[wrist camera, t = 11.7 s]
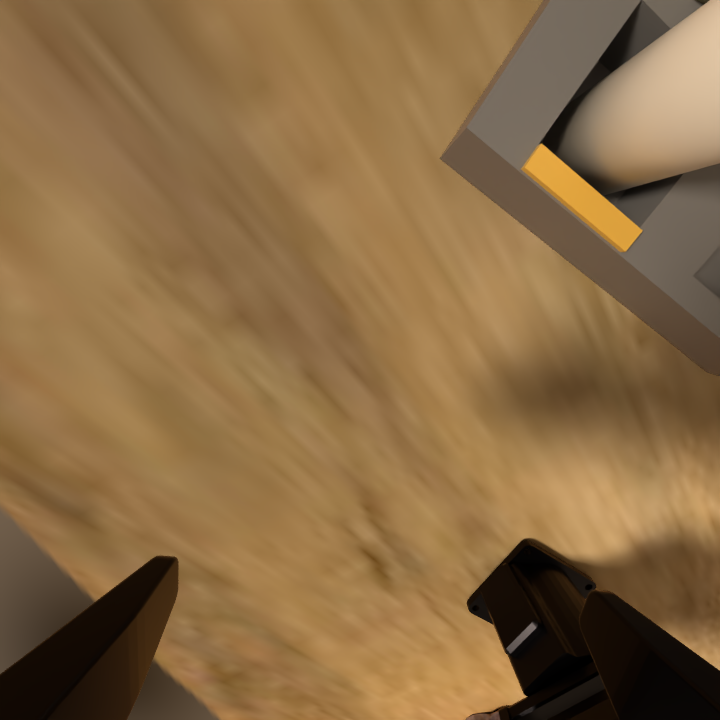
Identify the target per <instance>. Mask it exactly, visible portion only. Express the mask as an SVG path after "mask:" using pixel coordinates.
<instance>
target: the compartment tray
mask: <svg viewBox="0 0 720 720" xmlns="http://www.w3.org/2000/svg"><path fill="white" fill-rule="evenodd" d="M701 6H703V4H702V3H701V2H700V1H697V0H544V1H543V2H542V4H541V5H540V7H539V8H538V10H537V11H536V13H535V15H534V16H533V18H532V19H531V21H530V22H529V24H528V25H527V27H526V28H525V30H524V31H523V33H522V34H521V36H520V37H519V39H518V40H517V42H516V43H515V45H514V46H513V48H512V50H511V51H510V53H509V54H508V56H507V57H506V59H505V60H504V62H503V63H502V65H501V66H500V68H499V69H498V71H497V72H496V74H495V75H494V77H493V78H492V80H491V82H490V83H489V85H488V86H487V88H486V89H485V91H484V92H483V94H482V95H481V97H480V98H479V100H478V101H477V103H476V104H475V106H474V107H473V109H472V110H471V112H470V113H469V115H468V117H467V118H466V120H465V121H464V123H463V124H462V126H461V127H460V129H459V130H458V132H457V133H456V135H455V136H454V138H453V139H452V141H451V142H450V144H449V145H448V147H447V149H446V150H445V152H444V153H443V155H442V156H441V158H440V159H441V160H442V161H443V162H445V163H446V164H447V165H448V166H450V167H451V168H452V169H453V170H455V171H456V172H457V173H458V174H460V175H461V176H462V177H463V178H465V179H466V180H467V181H468V182H470V183H471V184H472V185H473V186H475V187H476V188H477V189H479V190H480V191H481V192H482V193H484V194H485V195H486V196H487V197H489V198H490V199H491V200H492V201H494V202H495V203H496V204H497V205H499V206H500V207H501V208H502V209H504V210H505V211H506V212H507V213H509V214H510V215H511V216H512V217H514V218H515V219H516V220H517V221H519V222H520V223H521V224H522V225H524V226H525V227H526V228H527V229H529V230H530V231H531V232H532V233H534V234H535V235H536V236H537V237H539V238H540V239H541V240H542V241H544V242H545V243H546V244H547V245H549V246H550V247H551V248H552V249H554V250H555V251H556V252H557V253H559V254H560V255H561V256H562V257H564V258H565V259H566V260H567V261H569V262H570V263H571V264H572V265H574V266H575V267H576V268H577V269H579V270H580V271H581V272H582V273H584V274H585V275H586V276H587V277H589V278H590V279H591V280H592V281H594V282H595V283H596V284H597V285H599V286H600V287H601V288H602V289H604V290H605V291H606V292H607V293H609V294H610V295H611V296H612V297H614V298H615V299H616V300H617V301H619V302H620V303H621V304H622V305H624V306H625V307H626V308H627V309H629V310H630V311H631V312H632V313H634V314H635V315H636V316H637V317H639V318H640V319H641V320H642V321H644V322H645V323H646V324H647V325H649V326H650V327H651V328H652V329H654V330H655V331H656V332H657V333H659V334H660V335H661V336H663V337H664V338H665V339H666V340H668V341H669V342H670V343H671V344H673V345H674V346H675V347H676V348H678V349H679V350H680V351H681V352H683V353H684V354H685V355H686V356H688V357H689V358H690V359H691V360H693V361H694V362H695V363H696V364H698V365H699V366H700V367H701V368H703V369H704V370H705V371H706V372H708V373H712V374H715V375H718V376H720V163H719V164H715V165H712V166H708V167H704V168H701V169H697V170H694V171H690V172H686V173H683V174H679V175H676V176H672V177H668V178H665V179H661V180H657V181H654V182H650V183H647V184H643V185H639V186H636V187H632V188H629V189H625V190H621V191H618V192H614V193H611V194H607V195H603V196H602V195H601V194H600V193H599V192H597V191H596V190H595V189H594V188H593V187H592V186H591V185H589V184H588V183H587V182H586V181H585V180H584V179H582V178H581V177H580V176H579V175H578V174H577V173H575V172H574V171H573V170H572V169H571V168H570V167H569V166H567V165H566V164H565V163H564V162H563V161H562V160H560V159H559V158H558V157H557V156H556V155H555V154H553V153H552V152H551V151H550V150H549V149H548V148H546V147H545V146H544V145H543V142H544V138H545V135H546V133H547V132H548V130H549V129H550V128H551V126H552V125H553V123H554V122H555V121H556V119H557V118H558V116H559V115H560V114H561V112H562V111H563V109H564V108H565V107H566V106H567V105H568V104H570V103H571V102H573V101H574V100H575V99H577V98H578V97H579V96H581V95H582V94H583V93H585V92H586V91H587V90H589V89H590V88H592V87H593V86H594V85H596V84H597V83H598V82H600V81H601V80H602V79H604V78H605V77H606V76H608V75H609V74H611V73H612V72H613V71H615V70H616V69H617V68H619V67H620V66H621V65H623V64H624V63H625V62H627V61H628V60H629V59H631V58H632V57H634V56H635V55H636V54H638V53H639V52H640V51H642V50H643V49H644V48H646V47H647V46H648V45H650V44H651V43H653V42H654V41H655V40H657V39H658V38H659V37H661V36H662V35H663V34H665V33H666V32H667V31H669V30H670V29H672V28H673V27H674V26H676V25H677V24H678V23H680V22H681V21H682V20H684V19H685V18H686V17H688V16H689V15H691V14H692V13H693V12H695V11H696V10H697V9H699V8H700V7H701Z"/></svg>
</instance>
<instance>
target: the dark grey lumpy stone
mask: <svg viewBox="0 0 720 720" xmlns="http://www.w3.org/2000/svg"><path fill="white" fill-rule="evenodd" d="M465 720H500V716H499V712H498V711H496V712H493V713H491V714H475V715H471V716H469V717H468V718H466V719H465Z"/></svg>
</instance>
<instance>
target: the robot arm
mask: <svg viewBox="0 0 720 720" xmlns="http://www.w3.org/2000/svg"><path fill="white" fill-rule="evenodd" d="M526 549H527V550H526ZM595 588H596V584H595V583H594V581H593V580H592V579H591V578H590V577H589V576H587V575H585V574H584V573H582V572H580V571H579V570H577V569H575V568H574V567H572V566H570V565H569V564H567V563H565V562H564V561H562V560H560V559H559V558H557V557H555V556H554V555H552V554H550V553H548V552H547V551H545V550H543V549H542V548H540V547H538V546H537V545H535V544H533V543H532V542H530V541H523V542H521V543H520V544H519V545H518V546H517V547H516V548H515V549H514V550H513V551H512V552H511V554H510V555H509V556H508V557H507V558H506V559H505V560H504V561H503V562H502V563H501V564H500V566H499V567H498V568H497V569H496V570H495V571H494V572H493V573H492V574H491V575H490V576H489V578H488V579H487V580H486V581H485V582H484V583H483V584H482V585H481V586H480V587H479V588H478V589H477V591H476V592H475V593H474V594H473V595H472V596H471V597H470V598H469V599H468V601H467V606H468V609H469V611H470V612H471V613H472V614H474V615H476V616H478V617H480V618H482V619H484V620H486V621H487V622H489V623H491V624H493V625H494V627H495V629H496V632H497V634H498V637H499V639H500V641H501V644H502V646H503V649H504V651H505V653H506V654H507V655H508V657H509V659H510V662H511V664H512V667H513V669H514V671H515V674H516V676H517V679H518V681H519V684H520V686H521V688H522V691H523V693H524V694H525V695H526V696H528V697H526V698H524V699H522V700H520V701H518V702H517V703H515V704H513V705H511V706H509V707H508V706H507V705H506V706H505V707H503V708H501V709H499V710H498V712H499V716H500V720H720V671H719V670H718V669H717V668H715V667H714V666H712V665H711V664H710V663H708V662H707V661H706V660H704V659H703V658H701V657H700V656H699V655H697V654H696V653H695V652H693V651H692V650H691V649H689V648H688V647H686V646H685V645H684V644H682V643H681V642H680V641H678V640H677V639H675V638H674V637H673V636H671V635H670V634H669V633H667V632H666V631H664V630H663V629H662V628H660V627H659V626H658V625H656V624H655V623H653V622H652V621H651V620H649V619H648V618H647V617H645V616H644V615H643V614H641V613H640V612H638V611H637V610H636V609H634V608H633V607H632V606H630V605H629V604H627V603H626V602H625V601H623V600H622V599H621V598H619V597H618V596H616V595H615V594H614V593H612V592H609V591H601V590H595ZM177 593H178V559H177V558H176V557H171V556H156V557H154V558H152V559H151V560H150V561H148V562H147V563H146V564H144V565H143V566H142V567H141V568H139V569H138V570H137V571H135V572H134V573H133V574H131V575H130V576H129V577H127V578H126V579H125V580H123V581H122V582H121V583H119V584H118V585H117V586H116V587H114V588H113V589H112V590H110V591H109V592H108V593H106V594H105V595H104V596H102V597H101V598H100V599H98V600H97V601H96V602H94V603H93V604H92V605H91V606H89V607H88V608H87V609H85V610H84V611H83V612H81V613H80V614H79V615H77V616H76V617H75V618H74V619H72V620H71V621H70V622H68V623H67V624H66V625H64V626H63V627H62V628H60V629H59V630H58V631H56V632H55V633H54V634H53V635H51V636H50V637H48V638H47V639H46V640H45V641H43V642H42V643H41V644H40V645H38V646H37V647H35V648H34V649H33V650H31V651H30V652H29V653H27V654H26V655H25V656H24V657H22V658H21V659H20V660H18V661H17V662H16V663H14V664H13V665H12V666H10V667H9V668H8V669H6V670H5V671H4V672H2V673H1V674H0V720H127V718H128V716H129V714H130V712H131V710H132V708H133V706H134V703H135V701H136V699H137V697H138V695H139V692H140V690H141V688H142V685H143V683H144V680H145V678H146V675H147V673H148V670H149V668H150V665H151V662H152V660H153V657H154V655H155V652H156V650H157V647H158V644H159V642H160V639H161V637H162V634H163V632H164V629H165V626H166V624H167V621H168V619H169V616H170V613H171V611H172V608H173V606H174V603H175V600H176V597H177ZM586 598H587V599H586ZM585 599H586V600H585Z"/></svg>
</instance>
